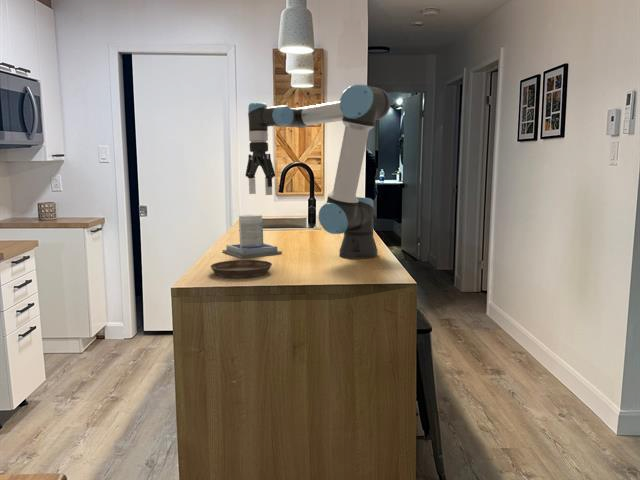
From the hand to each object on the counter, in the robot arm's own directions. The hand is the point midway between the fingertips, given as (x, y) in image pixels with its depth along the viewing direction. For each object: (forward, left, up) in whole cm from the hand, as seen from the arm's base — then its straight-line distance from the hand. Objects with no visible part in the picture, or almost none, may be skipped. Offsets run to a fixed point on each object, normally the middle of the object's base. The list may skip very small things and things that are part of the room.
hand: (260, 194), depth 231 cm
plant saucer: (-35, +26, -24) cm, 50 cm away
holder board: (-1, +5, -24) cm, 24 cm away
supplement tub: (-1, +5, -23) cm, 24 cm away
